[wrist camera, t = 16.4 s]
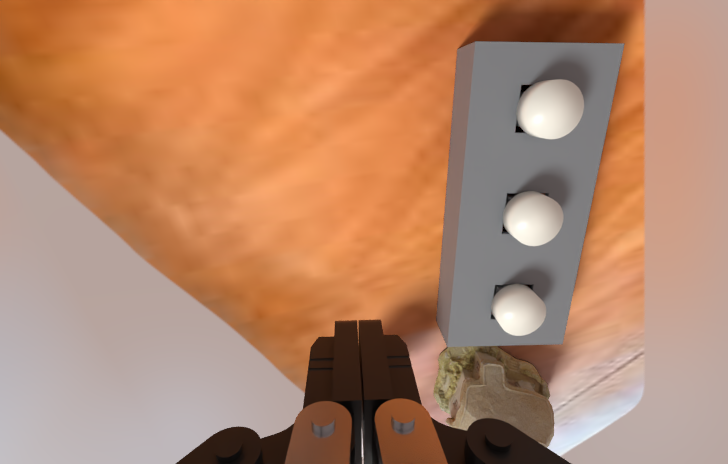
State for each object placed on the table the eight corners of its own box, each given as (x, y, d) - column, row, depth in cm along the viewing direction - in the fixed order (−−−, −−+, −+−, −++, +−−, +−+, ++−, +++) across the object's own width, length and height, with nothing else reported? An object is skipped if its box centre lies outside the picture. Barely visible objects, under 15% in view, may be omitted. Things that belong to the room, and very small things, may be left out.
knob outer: (477, 264, 41) (502, 294, 35) (518, 263, 41) (549, 293, 35) (473, 300, 42) (496, 336, 36) (512, 300, 42) (542, 335, 36)
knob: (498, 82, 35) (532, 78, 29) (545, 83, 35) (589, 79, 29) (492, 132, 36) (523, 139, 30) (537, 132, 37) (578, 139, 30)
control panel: (457, 49, 35) (475, 41, 30) (586, 51, 35) (624, 43, 30) (436, 320, 44) (447, 346, 39) (539, 318, 44) (562, 344, 40)
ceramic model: (417, 404, 48) (435, 479, 38) (449, 329, 44) (478, 391, 35) (518, 426, 50) (559, 502, 40) (557, 355, 46) (612, 421, 37)
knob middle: (486, 180, 38) (515, 196, 32) (530, 180, 38) (567, 196, 32) (482, 222, 39) (508, 246, 33) (524, 222, 40) (558, 245, 33)
